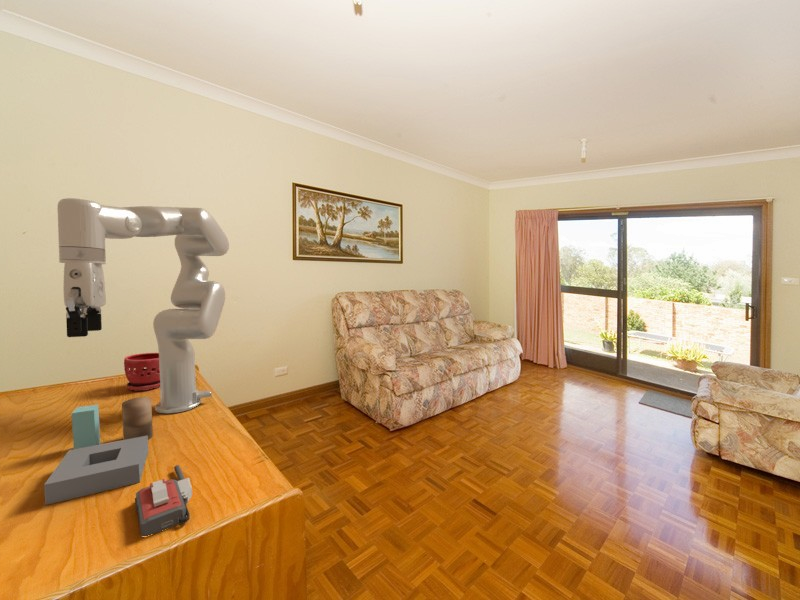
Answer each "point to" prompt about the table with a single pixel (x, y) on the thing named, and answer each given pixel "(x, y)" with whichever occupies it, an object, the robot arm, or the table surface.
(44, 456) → the table surface
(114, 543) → the table surface
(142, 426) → the round plug
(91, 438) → the square peg
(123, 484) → the socket block
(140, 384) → the plant pot
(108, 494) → the table surface
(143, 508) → the walkie-talkie
